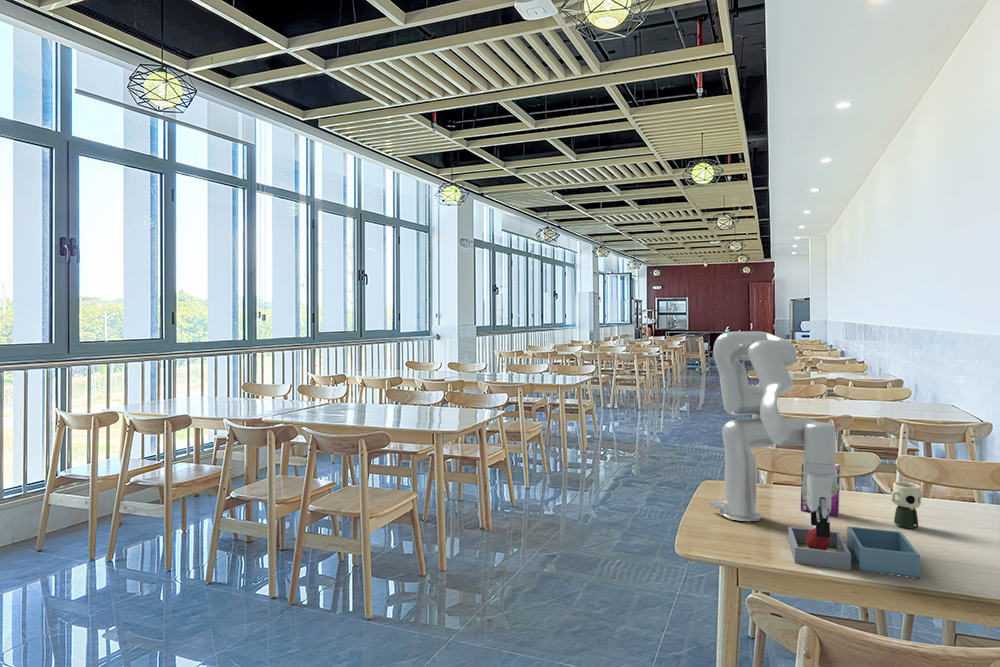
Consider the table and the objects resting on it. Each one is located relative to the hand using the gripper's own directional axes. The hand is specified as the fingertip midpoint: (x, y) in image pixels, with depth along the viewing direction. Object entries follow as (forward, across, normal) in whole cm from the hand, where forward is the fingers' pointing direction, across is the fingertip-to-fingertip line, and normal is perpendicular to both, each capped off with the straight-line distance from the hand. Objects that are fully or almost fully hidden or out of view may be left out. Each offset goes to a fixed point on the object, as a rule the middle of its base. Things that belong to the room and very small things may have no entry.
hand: (820, 531), depth 164 cm
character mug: (+6, -35, +28) cm, 45 cm away
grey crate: (+7, -1, -1) cm, 7 cm away
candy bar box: (+6, -41, +5) cm, 42 cm away
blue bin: (+7, -1, +14) cm, 16 cm away
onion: (+7, -1, -1) cm, 7 cm away
